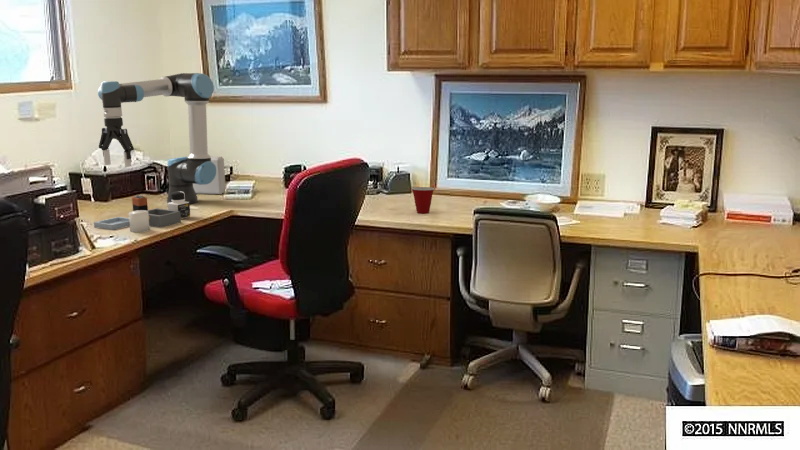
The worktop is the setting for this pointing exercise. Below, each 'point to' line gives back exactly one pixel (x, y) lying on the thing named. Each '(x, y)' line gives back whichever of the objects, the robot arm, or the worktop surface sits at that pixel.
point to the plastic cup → (422, 199)
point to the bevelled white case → (218, 182)
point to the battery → (139, 203)
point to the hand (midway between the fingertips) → (117, 165)
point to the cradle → (163, 217)
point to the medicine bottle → (179, 204)
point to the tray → (112, 223)
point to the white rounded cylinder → (139, 221)
